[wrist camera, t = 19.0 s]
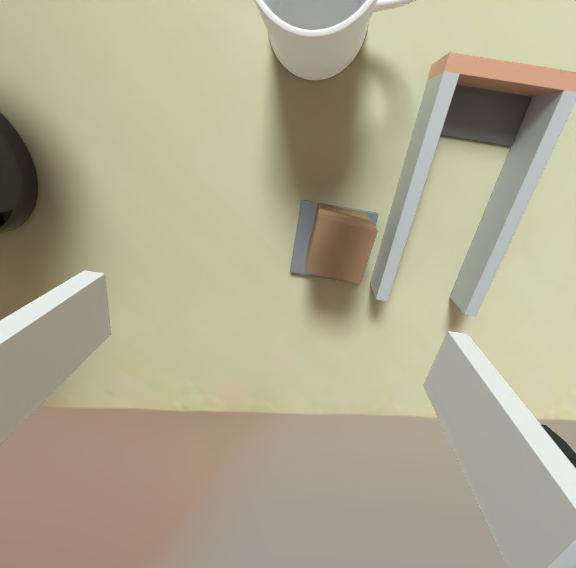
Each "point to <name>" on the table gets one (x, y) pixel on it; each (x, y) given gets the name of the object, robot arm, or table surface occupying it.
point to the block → (340, 243)
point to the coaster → (304, 234)
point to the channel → (487, 128)
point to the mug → (319, 32)
